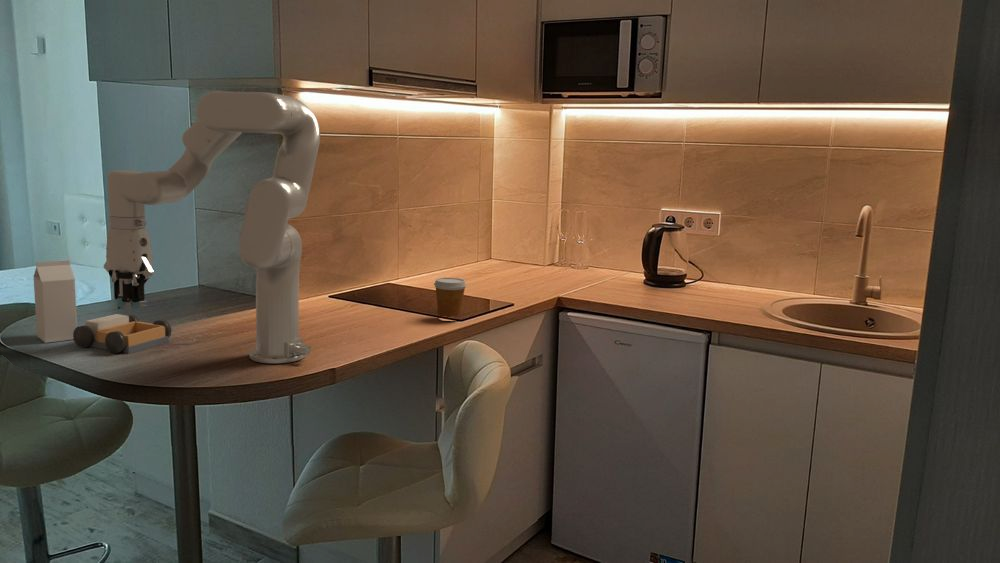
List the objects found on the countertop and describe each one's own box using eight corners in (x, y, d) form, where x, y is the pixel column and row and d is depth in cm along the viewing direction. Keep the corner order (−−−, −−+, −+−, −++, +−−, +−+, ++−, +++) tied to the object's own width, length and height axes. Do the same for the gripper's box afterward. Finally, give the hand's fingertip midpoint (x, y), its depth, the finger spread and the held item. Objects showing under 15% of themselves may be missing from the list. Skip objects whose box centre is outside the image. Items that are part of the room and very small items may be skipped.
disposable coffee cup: (440, 314, 229) (441, 276, 227) (469, 318, 226) (471, 279, 224) (427, 321, 220) (429, 280, 218) (458, 325, 217) (459, 284, 215)
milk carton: (78, 339, 183) (74, 262, 179) (44, 343, 178) (40, 264, 174) (69, 333, 188) (65, 258, 184) (36, 337, 183) (32, 260, 179)
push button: (146, 305, 182) (146, 264, 181) (147, 310, 178) (146, 268, 176) (116, 306, 180) (115, 265, 178) (115, 311, 175) (114, 268, 173)
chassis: (173, 340, 185) (172, 319, 184) (123, 355, 172) (122, 331, 171) (124, 332, 191) (123, 311, 190) (72, 345, 177) (70, 322, 176)
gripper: (167, 225, 176) (169, 301, 179) (113, 219, 182) (115, 293, 185) (142, 228, 169) (144, 307, 172) (86, 221, 175) (89, 298, 178)
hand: (129, 299), depth 178 cm, fingers closed on push button, 4 cm apart
